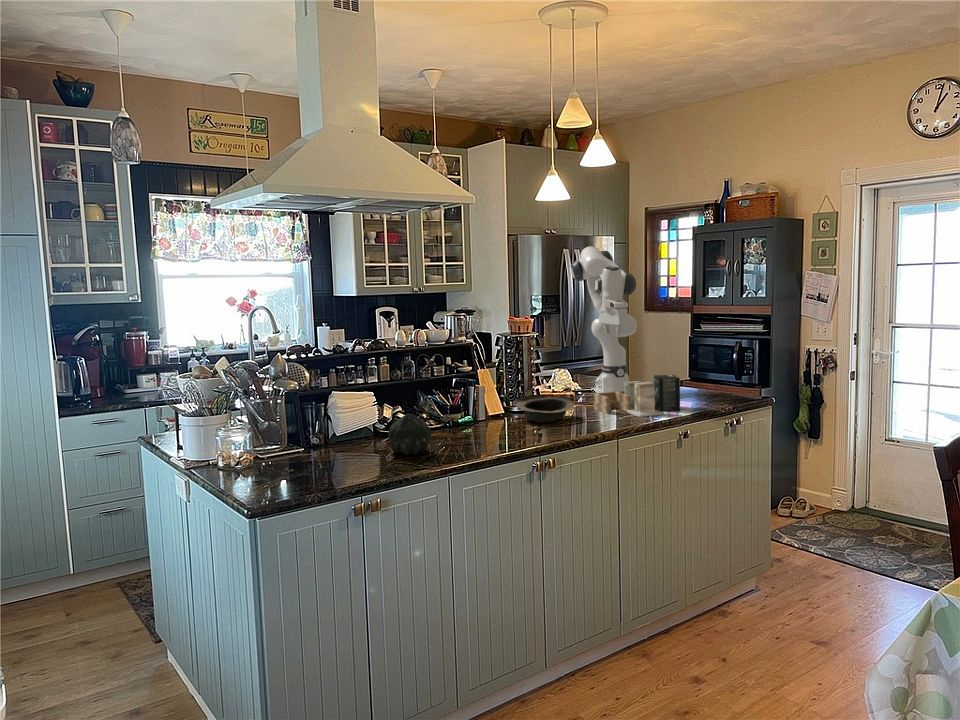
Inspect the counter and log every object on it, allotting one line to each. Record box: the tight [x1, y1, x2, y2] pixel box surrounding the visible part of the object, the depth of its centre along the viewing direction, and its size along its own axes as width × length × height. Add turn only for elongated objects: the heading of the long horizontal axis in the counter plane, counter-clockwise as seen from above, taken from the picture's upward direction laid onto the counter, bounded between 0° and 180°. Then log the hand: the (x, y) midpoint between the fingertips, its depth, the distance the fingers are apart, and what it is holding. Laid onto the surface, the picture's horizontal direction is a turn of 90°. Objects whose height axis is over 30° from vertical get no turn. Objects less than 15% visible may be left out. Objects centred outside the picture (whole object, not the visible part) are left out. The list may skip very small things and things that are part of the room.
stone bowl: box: [514, 393, 575, 424], centre depth 305 cm, size 25×25×9 cm
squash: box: [387, 413, 432, 456], centre depth 254 cm, size 14×15×15 cm
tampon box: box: [653, 374, 681, 412], centre depth 319 cm, size 11×9×15 cm
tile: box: [626, 409, 664, 418], centre depth 311 cm, size 11×11×1 cm
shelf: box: [592, 380, 645, 415], centre depth 321 cm, size 13×22×12 cm, turn 107°
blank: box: [635, 381, 656, 413], centre depth 311 cm, size 4×7×12 cm, turn 107°
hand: (612, 334), depth 322 cm, fingers open, 8 cm apart
